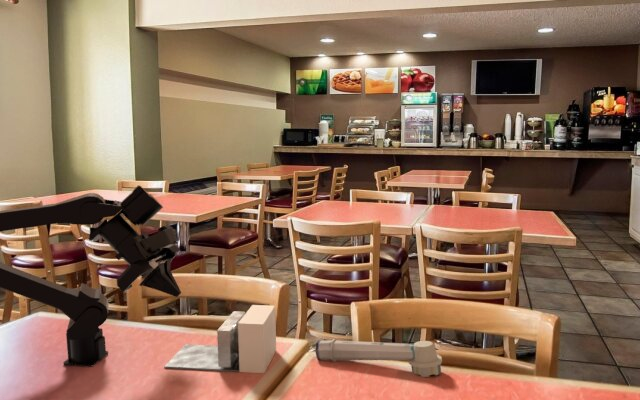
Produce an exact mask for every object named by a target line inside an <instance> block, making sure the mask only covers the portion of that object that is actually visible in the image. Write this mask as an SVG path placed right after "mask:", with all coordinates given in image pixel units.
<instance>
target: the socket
mask: <svg viewBox="0 0 640 400" xmlns="http://www.w3.org/2000/svg"><path fill="white" fill-rule="evenodd" d="M276 326H277V324H276V305H267V304H266V305H261V304H251V306H250V308H249V309H248V310H247V311H246V312H245V315H244V316H243V318H242V319H241V320H240V321H239V323H238V339H239V370H240V372H239V373H249V374H250V373H253V374H265V373H266V371H267V369H268V367H269V366H270V363H271V362H272V360H273V358H274V355H275V353H276V351H277V334H276V333H277V330H276V329H277V328H276Z"/></svg>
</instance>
